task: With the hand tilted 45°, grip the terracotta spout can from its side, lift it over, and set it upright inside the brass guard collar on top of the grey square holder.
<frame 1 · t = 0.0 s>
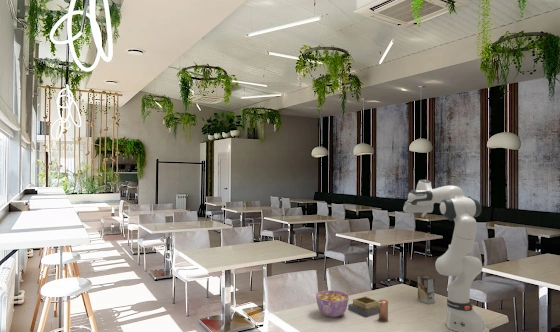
hand: (416, 216, 272), 54 cm above the table, tool tilted 30°, fingers open, 8 cm apart
bowl of food: (332, 315, 231), on the table
grey square holder: (365, 310, 238), on the table
spout can: (383, 320, 223), on the table
coffee box: (426, 301, 256), on the table
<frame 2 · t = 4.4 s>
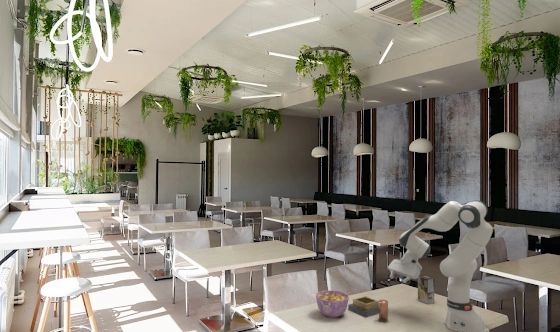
hand: (397, 280, 231), 21 cm above the table, tool tilted 45°, fingers open, 8 cm apart
nothing on the table moved.
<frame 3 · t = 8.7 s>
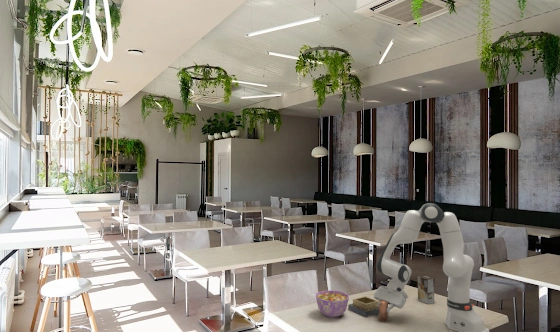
hand: (382, 309, 223), 6 cm above the table, tool tilted 45°, fingers closed on spout can, 5 cm apart
spout can: (383, 320, 223), on the table, touching gripper
everything else where it was.
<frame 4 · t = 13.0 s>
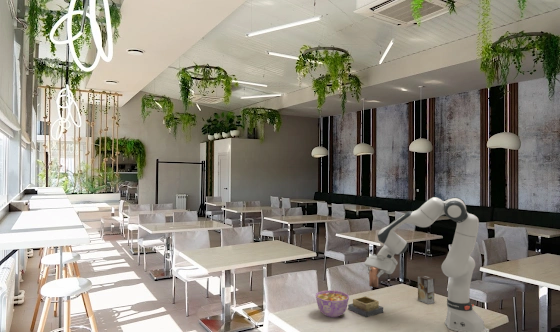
hand: (373, 275, 230), 24 cm above the table, tool tilted 45°, fingers closed on spout can, 5 cm apart
spout can: (373, 285, 231), point 18 cm above the table, touching gripper
everything else where it was.
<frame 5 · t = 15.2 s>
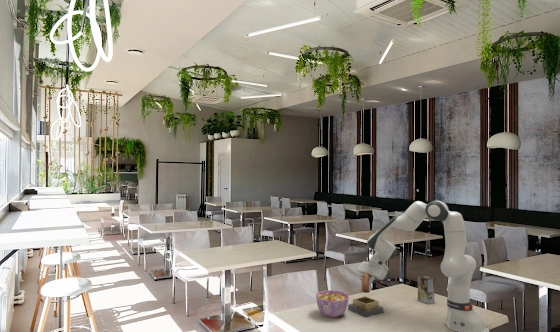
hand: (365, 281, 238), 18 cm above the table, tool tilted 45°, fingers closed on spout can, 5 cm apart
spout can: (365, 291, 238), point 12 cm above the table, touching gripper
everything else where it was.
when the fingers open (11 cm above the table, at t = 17.2 s): spout can drops 1 cm, resting on grey square holder.
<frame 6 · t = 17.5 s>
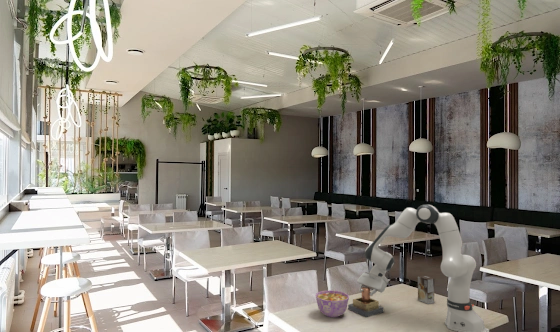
hand: (365, 293, 238), 11 cm above the table, tool tilted 45°, fingers open, 7 cm apart
spout can: (365, 305, 238), point 3 cm above the table, touching grey square holder
everything else where it was.
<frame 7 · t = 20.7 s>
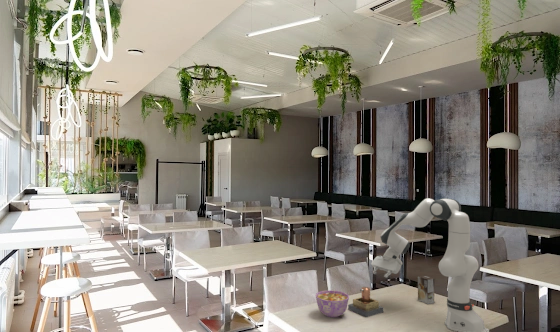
hand: (379, 275, 245), 20 cm above the table, tool tilted 45°, fingers open, 8 cm apart
nothing on the table moved.
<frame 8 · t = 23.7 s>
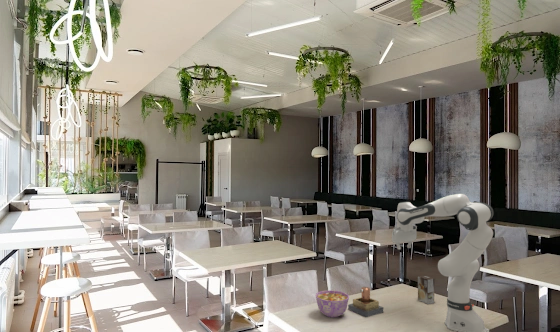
hand: (404, 248, 246), 37 cm above the table, tool pointing down, fingers open, 8 cm apart
nothing on the table moved.
at the end: spout can 0.1 cm off-centre on the grey square holder, point 3.0 cm above the grey square holder's base; spout can tilted 1°; the gripper is holding nothing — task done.
